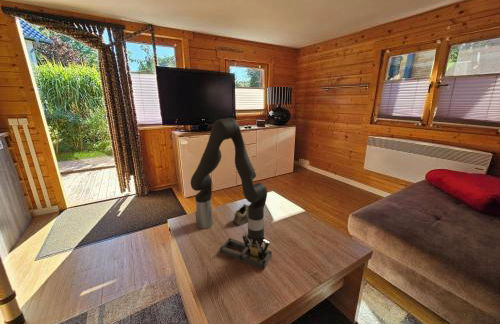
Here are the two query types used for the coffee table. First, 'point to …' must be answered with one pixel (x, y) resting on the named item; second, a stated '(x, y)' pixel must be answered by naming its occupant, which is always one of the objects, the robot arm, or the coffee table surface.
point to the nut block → (254, 251)
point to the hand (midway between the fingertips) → (256, 256)
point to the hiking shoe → (241, 215)
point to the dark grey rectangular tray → (244, 253)
